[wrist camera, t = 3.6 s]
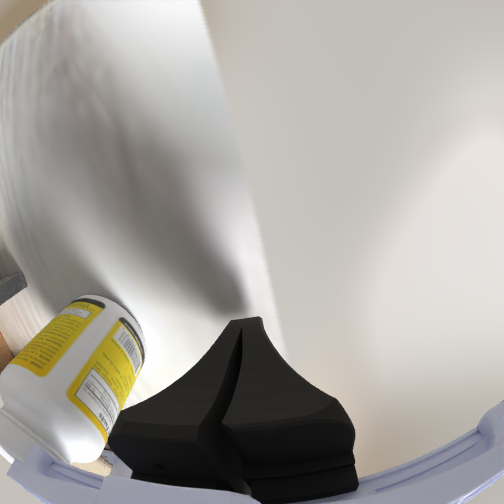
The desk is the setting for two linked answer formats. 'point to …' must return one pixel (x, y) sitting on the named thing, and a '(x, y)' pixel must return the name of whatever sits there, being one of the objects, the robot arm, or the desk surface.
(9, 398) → the supplement bottle
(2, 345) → the bracket
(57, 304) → the desk surface
